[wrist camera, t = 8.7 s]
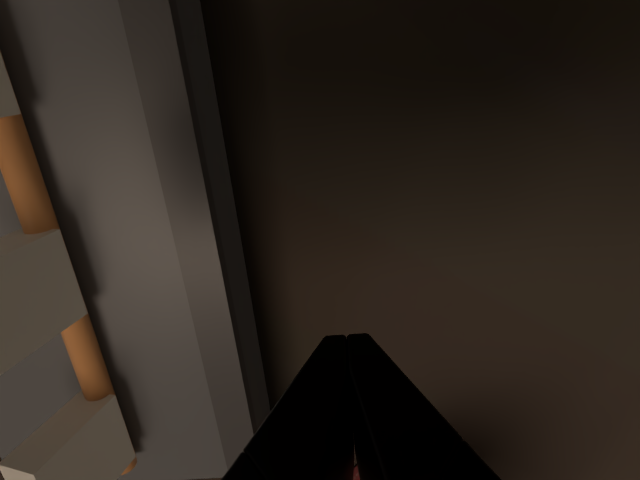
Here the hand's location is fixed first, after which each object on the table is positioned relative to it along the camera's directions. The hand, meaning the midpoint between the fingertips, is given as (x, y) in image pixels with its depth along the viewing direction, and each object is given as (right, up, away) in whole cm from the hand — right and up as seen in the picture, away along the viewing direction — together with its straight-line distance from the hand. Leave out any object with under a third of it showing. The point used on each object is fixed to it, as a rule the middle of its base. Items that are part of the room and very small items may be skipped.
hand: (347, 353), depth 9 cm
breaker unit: (-8, +2, +8) cm, 12 cm away
